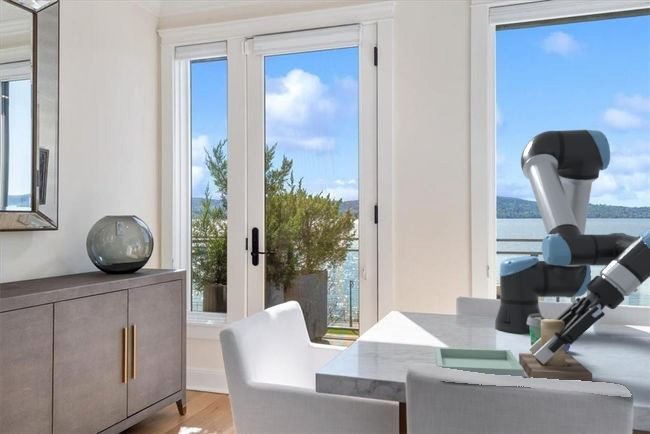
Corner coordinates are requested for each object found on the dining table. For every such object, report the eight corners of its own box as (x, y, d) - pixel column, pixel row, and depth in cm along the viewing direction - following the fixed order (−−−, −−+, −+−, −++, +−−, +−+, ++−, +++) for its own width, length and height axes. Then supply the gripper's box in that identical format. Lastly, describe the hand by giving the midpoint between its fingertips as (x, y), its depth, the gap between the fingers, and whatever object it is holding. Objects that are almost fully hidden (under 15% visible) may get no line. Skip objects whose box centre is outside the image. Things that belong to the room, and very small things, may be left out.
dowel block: (519, 363, 130) (519, 353, 130) (571, 365, 128) (571, 355, 128) (533, 382, 114) (532, 371, 114) (592, 385, 112) (592, 373, 112)
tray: (435, 359, 135) (435, 347, 135) (509, 362, 131) (509, 349, 131) (438, 379, 117) (438, 366, 117) (524, 383, 114) (524, 369, 114)
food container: (518, 350, 144) (518, 313, 144) (540, 349, 144) (540, 313, 144) (541, 362, 131) (540, 321, 131) (564, 361, 132) (564, 321, 132)
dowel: (539, 370, 124) (538, 318, 124) (561, 371, 123) (561, 319, 123) (544, 376, 119) (543, 322, 119) (567, 377, 118) (567, 323, 118)
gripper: (641, 304, 110) (558, 379, 113) (610, 292, 128) (539, 358, 130) (613, 278, 111) (531, 354, 114) (586, 270, 129) (516, 336, 131)
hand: (535, 356), depth 122 cm, fingers closed on dowel, 5 cm apart
